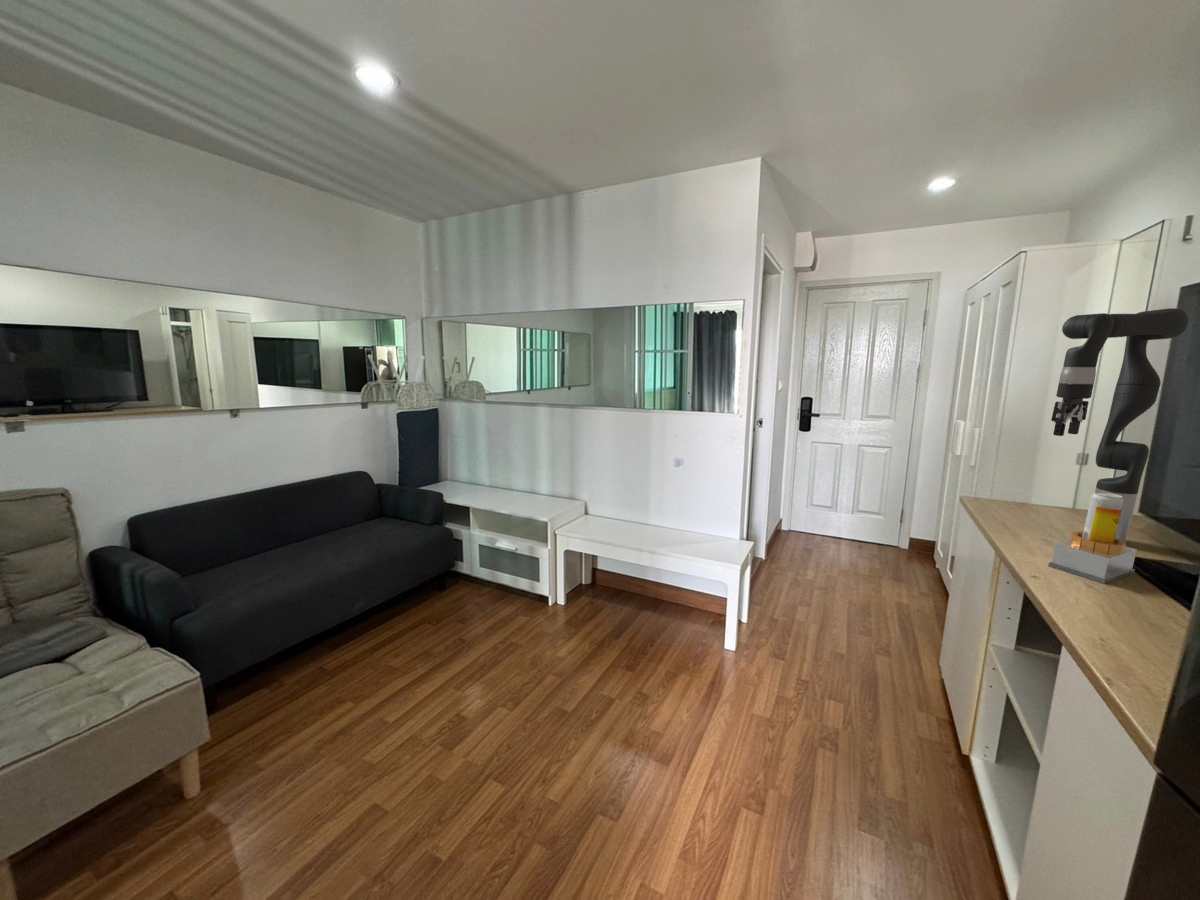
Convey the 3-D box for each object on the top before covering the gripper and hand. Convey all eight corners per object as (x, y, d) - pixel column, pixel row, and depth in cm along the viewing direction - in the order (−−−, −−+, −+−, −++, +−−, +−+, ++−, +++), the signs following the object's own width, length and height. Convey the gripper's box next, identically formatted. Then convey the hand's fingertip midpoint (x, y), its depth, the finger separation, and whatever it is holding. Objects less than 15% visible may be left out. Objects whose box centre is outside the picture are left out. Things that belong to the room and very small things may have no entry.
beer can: (1118, 550, 127) (1131, 498, 124) (1092, 548, 128) (1104, 497, 125) (1100, 542, 133) (1111, 492, 130) (1075, 540, 134) (1086, 491, 131)
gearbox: (1084, 554, 142) (1090, 525, 140) (1139, 570, 131) (1147, 539, 129) (1048, 566, 134) (1054, 535, 132) (1104, 583, 123) (1112, 550, 121)
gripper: (1072, 381, 146) (1061, 431, 149) (1047, 381, 141) (1037, 434, 144) (1104, 382, 139) (1093, 435, 143) (1080, 383, 134) (1069, 438, 137)
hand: (1065, 434), depth 143 cm, fingers open, 8 cm apart
